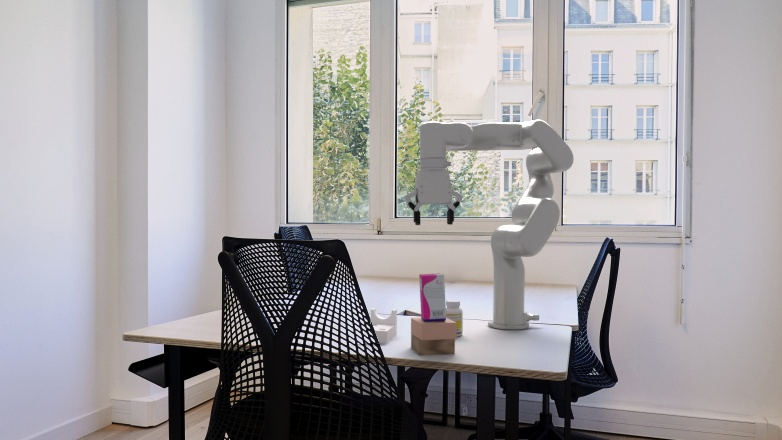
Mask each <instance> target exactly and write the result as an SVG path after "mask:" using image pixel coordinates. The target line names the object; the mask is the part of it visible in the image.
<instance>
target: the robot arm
mask: <svg viewBox="0 0 782 440" xmlns="http://www.w3.org/2000/svg"><path fill="white" fill-rule="evenodd" d="M530 149H532V150H531V151H529V152H528V153H527V156H526V159H525V167H526V169H527V173H528V174H527V175H528V184H527V186H526V188H525V190H524V192H523V193H522V195H521V196H520V197H519V199H518V200H517V202H516V204H515V205H514V207H513V209H512V211H511V214H510V217H511V221H512V223H513V224H504V225H500V226H498V227H496V228H495V229H494V230H493V232H492V234H491V236H490V248H491V252H492V261H493V298H492V299H493V302H492V303H493V308H492V309H493V310H492V311H493V312H492V313H493V314H492V315H493V316H492V320H489V321H488V322H487V326H488V327H490V328H494V329H500V330H517V331H518V330H525V329H529V327H530V323H529V322H530V321H533V322H534V321H535V322H536V321H540V315H539V313H536V314H531V313H528V312H526V311H525V281H526V280H525V279H526V278H525V277H526V275H525V274H526V271H525V270H526V269H525V265H524V261H523V258H531V257H535V256H537V255H538V254H539V253H540V252H541V251H542V250H543V248H544V247H545V245H546V244H547V242H548V240H549V239H550V237H551V236H552V234H553V232H554V230H555V229H556V228H557V225H558V223H559V220H560V216H561V215H560V214H561V213H560V207H559V205H558V203H557V202H556V200H554V199H552V198H553V196H554V193H555V191H554V190H555V187H554V184H553V180H552V176H551V174H557V173H565V172H566V171H569V169H570V168H572V166H573V164H574V159H575V158H574V154H573V151H572V149H571V147H570V146H569V145H568V144H567V142H565V140H564V139H563V138H562V137H561V136H560V135H559V134H558V133H557V131H556V130H555V129H554V128H553V127H552V126H551V125H550V124H548V122H546V121H544V120H542V119H535V120H530V121H523V122H501V121H499V122H498V121H493V122H491V121H490V122H485V123H479V124H476V125H475V124H474V125H469V124H468V123H466V122H463V121H462V122H460V121H459V122H458V121H456V122H448V123H447V122H442V121H441V122H440V121H428V122H427V121H426V122H423V123H421V124H420V126H419V169H418V170H417V172H416V178H415V186H414V190H413V191H411V192H409V193H408V194H406V195H404V196H403V199H404V200H405V203H406V204H407V206H408V207H409V208H410V209H411V211H412V213H413V223H414V224H415V226H420V225H421V211H420V209H421V208H422V206H424V205H427V206H428V205H430V206H431V205H432V206H433V205H444V206H445V207H446V208H447V209H448V210H447V211H446V223H447V225H453V223H454V222H455V211H456V209H457V208H458V207H459V206H460V204H461V201H462V200H463V197H464V196H463V195H462V194H460V193H459V192H456V190H453V189H452V182H451V176H450V172H449V169H447V168H448V167H451V166H452V162H451V161H448V159H447V152H465V151H467V152H469V151H483V152H484V151H520V150H521V151H523V150H530ZM413 197H414V203H413V202H412V200H411V199H412V198H413ZM453 197H454V198H455V201H454V202H453V203H452V200H453Z"/></svg>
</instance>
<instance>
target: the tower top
mask: <svg viewBox="0 0 782 440" xmlns="http://www.w3.org/2000/svg"><path fill="white" fill-rule="evenodd" d="M456 325H457V323H456V322H454V321H452V320H450V319H448V318H446V321H428V322H424V321H423V320H422V318H421V317H411V318H410V335H411V334H412V335H414V336H416V337H417V338H419V339H420V340H440V339H455V340H456V339H457V336H456Z"/></svg>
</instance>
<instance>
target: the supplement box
mask: <svg viewBox="0 0 782 440" xmlns="http://www.w3.org/2000/svg"><path fill="white" fill-rule="evenodd" d="M418 276H419V278H418V279H419V297H420V298H419V300H420V318H422V320H423V321H424V322H428V321H446V308H447V306H446V291H445V289H446V287H445V274H443V273H440V272H439V273H424V274H423V273H422V274H419V275H418Z"/></svg>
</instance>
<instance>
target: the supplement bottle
mask: <svg viewBox="0 0 782 440" xmlns="http://www.w3.org/2000/svg"><path fill="white" fill-rule="evenodd" d="M445 304H446V318H448V319H450V320H452V321H454V322H456V323H457V325H456V337H460V336H463V328H464V326H463V322H464V321H463V315H464V314H463V308H461V300H458V299H449V300H445Z"/></svg>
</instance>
